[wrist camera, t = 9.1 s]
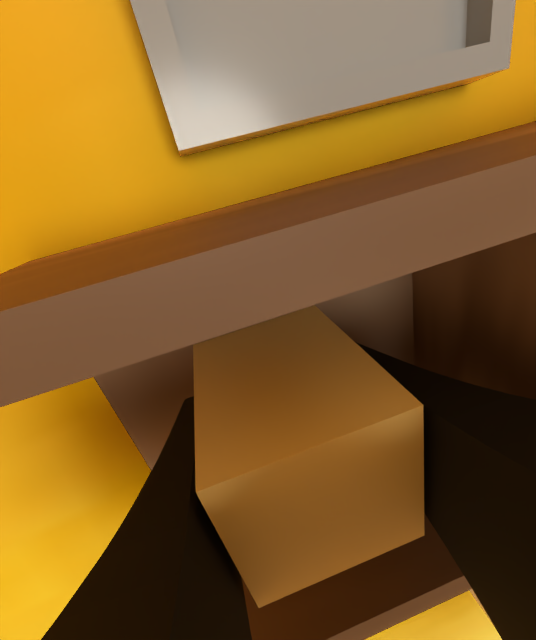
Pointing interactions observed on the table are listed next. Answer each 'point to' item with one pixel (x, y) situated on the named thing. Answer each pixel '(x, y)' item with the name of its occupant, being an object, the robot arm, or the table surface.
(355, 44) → the slate tray
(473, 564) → the robot arm
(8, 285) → the brown cabinet
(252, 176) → the table surface
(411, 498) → the mustard block
